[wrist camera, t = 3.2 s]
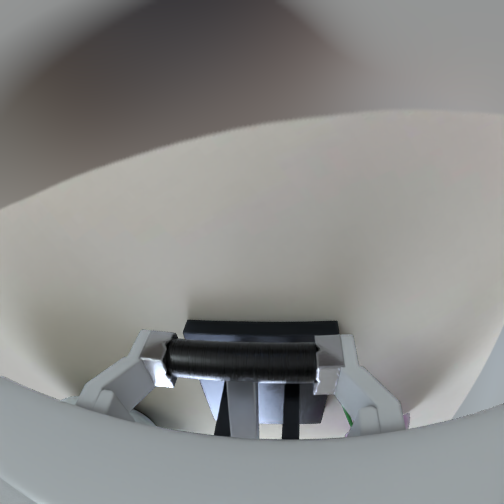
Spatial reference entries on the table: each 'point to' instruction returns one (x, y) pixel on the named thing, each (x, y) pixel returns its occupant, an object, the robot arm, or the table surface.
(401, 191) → the table surface
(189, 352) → the lever
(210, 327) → the bracket
